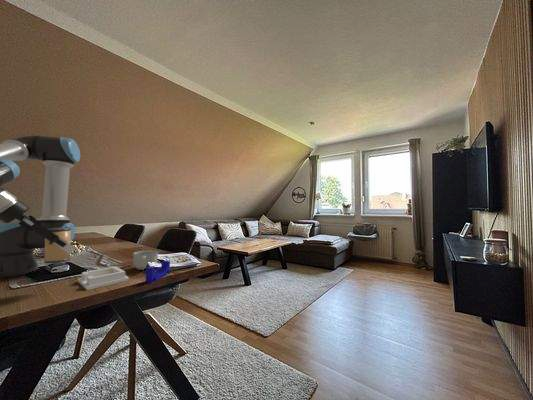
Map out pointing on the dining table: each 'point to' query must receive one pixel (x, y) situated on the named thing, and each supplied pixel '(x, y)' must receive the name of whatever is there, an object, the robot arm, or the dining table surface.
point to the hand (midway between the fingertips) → (70, 249)
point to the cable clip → (157, 272)
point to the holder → (102, 277)
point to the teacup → (144, 258)
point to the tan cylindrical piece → (54, 252)
